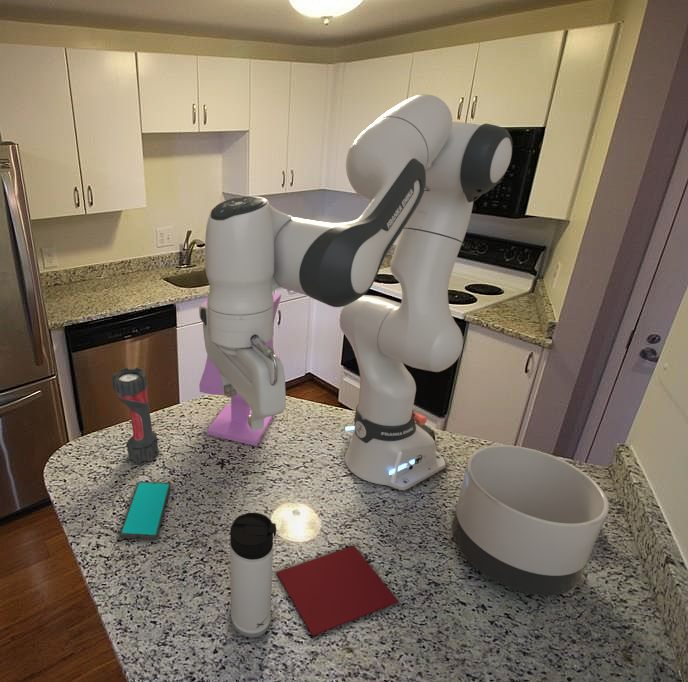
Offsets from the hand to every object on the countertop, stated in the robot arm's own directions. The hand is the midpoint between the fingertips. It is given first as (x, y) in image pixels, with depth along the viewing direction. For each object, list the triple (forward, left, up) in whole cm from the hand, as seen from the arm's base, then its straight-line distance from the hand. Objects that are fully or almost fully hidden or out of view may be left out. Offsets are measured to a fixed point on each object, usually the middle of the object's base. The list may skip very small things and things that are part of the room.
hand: (242, 410), depth 69 cm
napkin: (-13, +9, -34) cm, 37 cm away
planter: (-45, +15, -34) cm, 58 cm away
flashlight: (+11, -38, -34) cm, 52 cm away
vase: (-17, -41, -34) cm, 56 cm away
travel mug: (+2, +9, -34) cm, 35 cm away
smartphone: (+13, -20, -34) cm, 41 cm away
